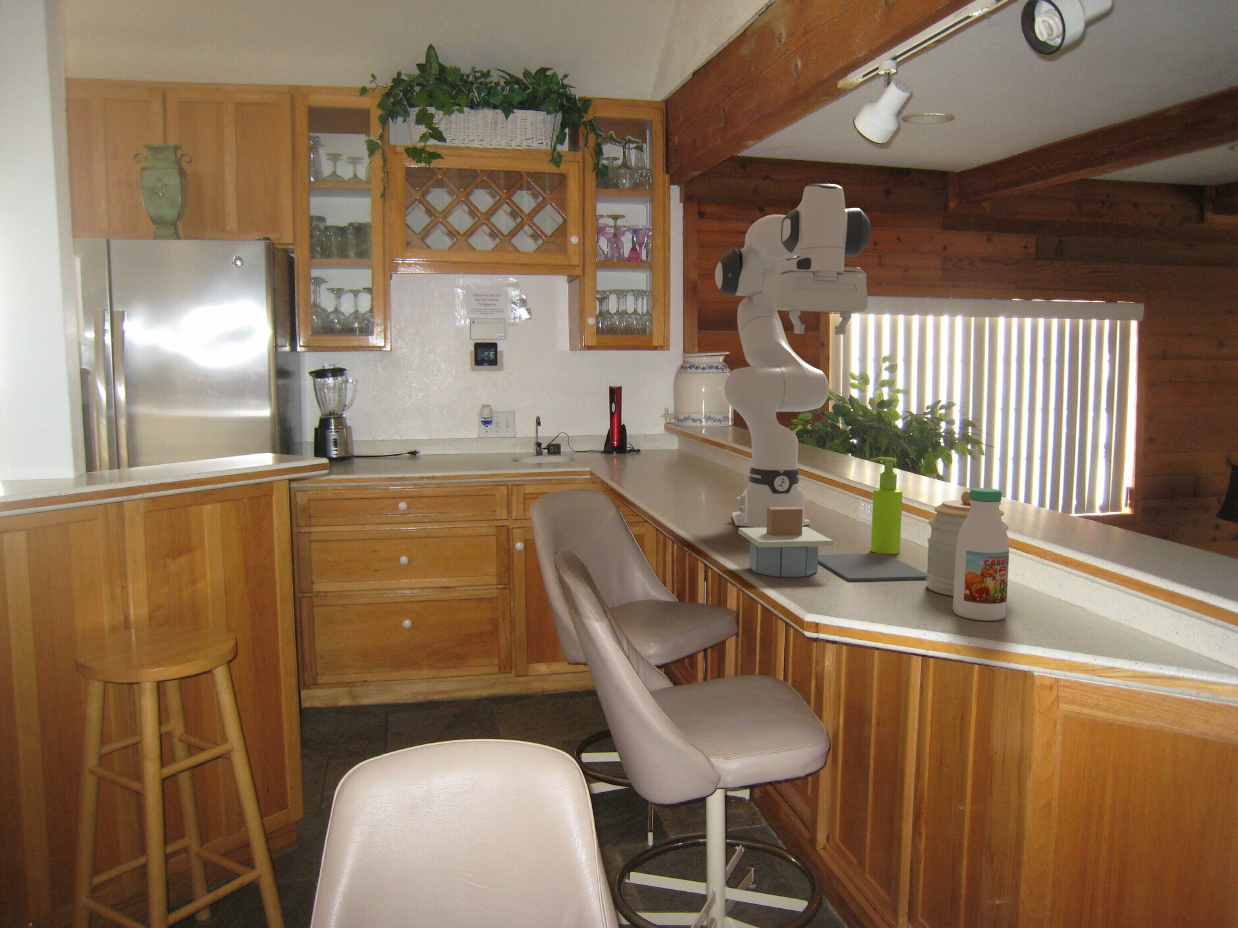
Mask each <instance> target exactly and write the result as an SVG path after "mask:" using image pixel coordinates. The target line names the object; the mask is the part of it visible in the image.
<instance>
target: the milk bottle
mask: <svg viewBox="0 0 1238 928" xmlns="http://www.w3.org/2000/svg"><path fill="white" fill-rule="evenodd" d="M969 491H970V493H969V498H970V501H969V502H970V504H971V506H970V511H969V514H968V516H967V518H966V520H965V522H964V524H963V526H962V528H961V530H960V532H959V535H958V539H957V547H956V559H955V576H954V596H952V597H953V599H952V609H953V613H954V614H955V615H957V616H958V617H962V618H964V619H968V620H976V621H982V622H983V621H986V622H991V621H992V622H993V621H1001V620H1003V619H1005V617H1006V613H1007V603H1008V599H1007V598H1008V583H1009V561H1010V558H1009V557H1010V543H1009V541H1010V540H1009V536H1008V533H1007V531H1006V530H1005V527H1004V525H1003V523H1002V521H1003V519H1002V516H1000V512H999V509H1000V506H1001V505H1002V495H1003V493H1002V491H1001V490H1000V489H996V488H988V487H987V488H986V487H985V488H984V487H976V488H975V487H972V488H970V490H969ZM1001 519H1002V520H1001Z"/></svg>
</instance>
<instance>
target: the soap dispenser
mask: <svg viewBox="0 0 1238 928" xmlns="http://www.w3.org/2000/svg"><path fill="white" fill-rule="evenodd" d="M869 461H871V462H873V461H880V462H882V461H883V462H884V471H882V472H881V473H880V474H879V487H878V488H874V489H873V490H872V491H873V492H872V511H871V512H872V515H871V516H872V517H871V518H872V519H871V535H870V537H871V540H870V551H871V552H873V553H874V554H876V553H885V554H887V555H896V554H900V551H901V535H902V534H901V533H902V530H901V529H902V513H903V512H902V511H903V510H902V507H903V490H900V489H897V481H898V480H897V479H898V478H897V477H898V475H897V473H895V472H894V463H897V462H898V459H897V458H894V457H888V456H887V457H886V456H879V457H874V458H873V457H871V458H869Z"/></svg>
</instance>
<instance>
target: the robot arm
mask: <svg viewBox="0 0 1238 928" xmlns="http://www.w3.org/2000/svg"><path fill="white" fill-rule="evenodd" d="M844 193H845V192H844V189H843V187H842V186H840V185H838V184H835V183H834V184H833V183H832V184H831V183H812V184H809V185H807V186H805V187H804V189H803V194H802V199H801V201H800V203H799V204H798V206H797V207H796V208H794V209H792V210H790V211H789V212H788V213H787V214H786V215H785V214H769V215H766V216H765V215H764V217H761V218H760V219H758V220H756V221H755V222H753V223H752V224H751V225H750V227H749V228H748V230H747V232H746V233H745V237H744V246H743V247H742V248H741V249H740V248H737V247H736V246H734V247H732V249H731V251H730V252H727V253H725V254H724V255H723V256H722V257H721V258H719V260H718V261H717V265H716V268H715V272H714V278H715V279H714V280H715V283H716V288H717V290H718V292H720V294H722V295H725V296H727V297H735V296H738V297H745V298H744V299H742V300H741V302H739V304H738V306H737V313H736V314H737V318H736V319H737V329H738V334H739V339H740V343H741V346H742V351H743V354H744V359H745V360H746V362H747V363H748V365H750V366H746V367H740V368H735V369H734V370H732V371H731V372H729V374H728V376H727V378H726V379H725V382H724V387H723V391H724V397H725V399H726V401H727V403H728V404H729V405H730V407H731V408H732V409H734V410H735V411H736V412H737V413H739V415H740V417H742V419H743V420H744V422H745V424H746V426H747V427H748V430H749V431H748V432H749V434H750V438H751V439H750V440H751V467H750V469H749V473H748V481H749V482H748V484H747V486H746V487H745V489H744V491H743V492H742V494H741V495H740V496H736V498H735V506H736V507H740V508H739V511H733V512H731V517H732V520H733V522H734V525H735V526H739V527H747V528H767V507H799V508H801V509H803V517H802V527H805V526H808V525H811V520H810V519H809V518H808V519H807V518H805V517H806V515H805V512H806V510H805V492H804V491H803V490H802V489H801V488H800V487H799V483H800V477H801V476H800V469H799V468H798V461H799V460H798V459H799V440H798V436H797V435H796V433H795V432H793V430H791V429H789V428H788V427H785V426H784V425H782V424H780V423H779V421H778V418H777V412H778V413H779V412H784V413H785V412H788V413H789V412H796V413H798V412H801V413H802V412H806V411H813V410H816V409H820V408H821V407H823V406H824V404H825V403H826V402H827V399H828V397H829V393H830V385H829V384H830V383H829V380H828V378H827V376H826V375H825V373H824V372H823V370H821V369H818V368H816V367H814V366H812V365H811V364H809V363H808V362H805V360H803V359H802V358H801V357H800V356H799V355H798V354H796V351H794V349H792V347H791V346H790V344H789V341H788V339H787V336H786V334H785V330H784V327H783V324H782V321H781V318H780V316H779V313H778V311H787V312H788V317H789V319H790V321H791V323H792V324H793V333H794V334H797V335H799V334H802V335H803V334H805V327H806V324H802V323H801V319H800V318H799V316H801V312H816V313H817V312H819V313H821V312H822V313H823V312H824V313H826V312H827V313H839V318H840V322H839V324H838V325H834V335H839V336H843V335H845V334H846V332H847V331H846V329H847V327H846V326H848V324H849V321H850V320H851V319H852V314H853V313H854V314H855V313H856V314H859V313H864V312H865V311H866V310H867V308H868V302H869V301H868V298H869V297H868V288H867V273H866V271H864V270H863V269H861V267H858V266H849V265H848V266H847V265H846V266H845V257H846V258H847V257H848V258H856V257H857V256H858V255H859V254H860V253H862V252H863V251H864V250H865V248H866V247H867V246H868V245H869V242H870V240H871V236H872V224H871V221H870V219H869V217H868V216H867V215H866V213H864V211H863V210H862V209H860V208H859V207H851V208H849V207H848V208H846V200H845V194H844Z"/></svg>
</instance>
